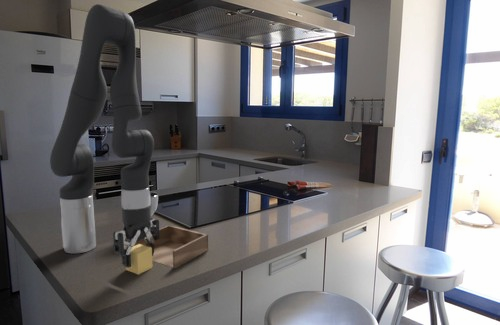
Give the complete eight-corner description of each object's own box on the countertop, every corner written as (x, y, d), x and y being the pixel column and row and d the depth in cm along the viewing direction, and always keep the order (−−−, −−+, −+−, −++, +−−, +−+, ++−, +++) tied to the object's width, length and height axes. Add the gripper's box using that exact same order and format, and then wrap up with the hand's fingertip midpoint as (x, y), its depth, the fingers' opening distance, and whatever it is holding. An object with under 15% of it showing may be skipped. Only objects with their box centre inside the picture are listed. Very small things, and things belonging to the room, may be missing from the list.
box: (134, 256, 107) (133, 239, 106) (169, 240, 119) (169, 224, 118) (175, 270, 98) (174, 251, 97) (208, 251, 111) (208, 234, 110)
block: (126, 270, 97) (125, 249, 96) (140, 263, 101) (139, 243, 100) (138, 275, 95) (137, 254, 94) (152, 267, 99) (151, 247, 98)
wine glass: (161, 231, 128) (160, 191, 125) (156, 240, 120) (154, 197, 117) (139, 231, 127) (137, 191, 125) (133, 240, 120) (130, 197, 117)
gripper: (146, 196, 103) (149, 249, 105) (104, 208, 91) (107, 267, 93) (165, 200, 99) (167, 255, 102) (123, 213, 87) (126, 275, 90)
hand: (138, 261), depth 98 cm, fingers open, 7 cm apart
